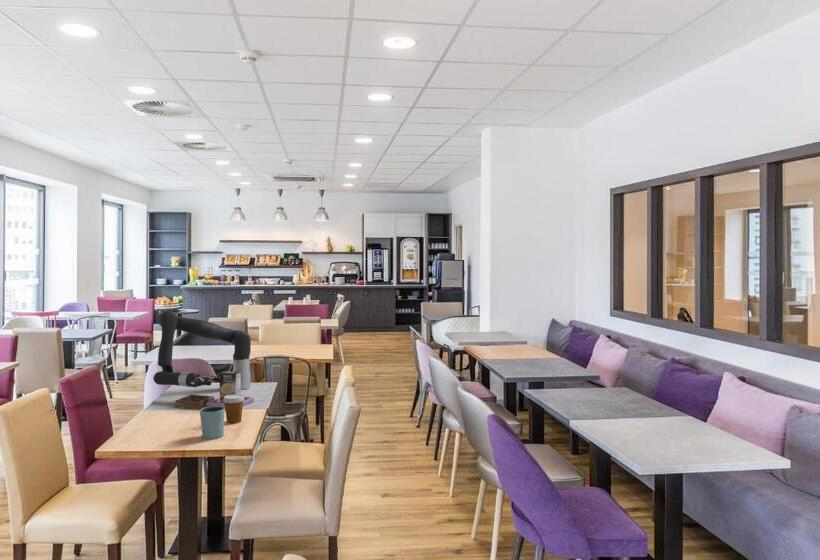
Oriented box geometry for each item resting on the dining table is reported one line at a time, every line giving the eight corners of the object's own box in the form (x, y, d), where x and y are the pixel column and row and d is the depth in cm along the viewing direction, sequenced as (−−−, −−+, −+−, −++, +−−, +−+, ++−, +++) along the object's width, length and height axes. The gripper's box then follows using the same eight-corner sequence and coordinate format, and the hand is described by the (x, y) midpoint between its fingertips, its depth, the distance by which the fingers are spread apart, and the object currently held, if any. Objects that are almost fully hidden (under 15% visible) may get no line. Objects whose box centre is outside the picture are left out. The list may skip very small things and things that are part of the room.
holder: (191, 401, 316) (191, 394, 315) (214, 403, 311) (214, 396, 311) (175, 407, 303) (175, 400, 303) (198, 409, 299) (198, 402, 299)
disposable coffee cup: (218, 423, 274) (218, 397, 274) (233, 418, 283) (233, 393, 282) (234, 425, 270) (233, 399, 269) (249, 420, 278) (248, 395, 278)
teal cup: (229, 436, 255) (229, 408, 254) (207, 441, 247) (207, 413, 247) (217, 431, 261) (216, 404, 261) (195, 436, 254) (195, 409, 253)
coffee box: (219, 404, 306) (218, 372, 305) (224, 400, 312) (224, 370, 311) (236, 404, 304) (235, 373, 304) (241, 401, 311) (240, 371, 310)
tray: (225, 399, 319) (225, 395, 319) (253, 402, 314) (253, 397, 314) (206, 407, 302) (206, 402, 302) (235, 410, 297) (235, 405, 297)
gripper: (180, 375, 308) (207, 377, 303) (198, 370, 321) (224, 371, 317) (180, 389, 308) (207, 391, 303) (198, 383, 322) (224, 385, 317)
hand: (216, 381), depth 310 cm, fingers open, 8 cm apart
